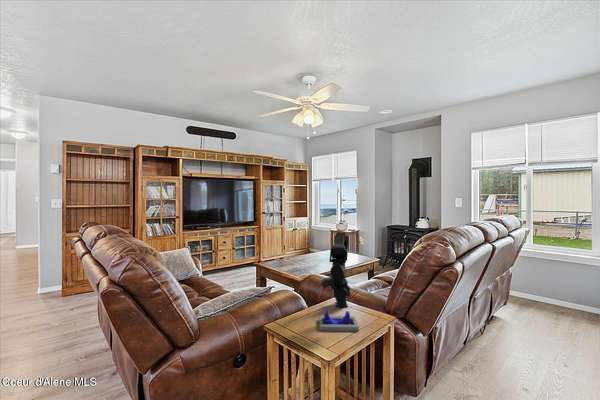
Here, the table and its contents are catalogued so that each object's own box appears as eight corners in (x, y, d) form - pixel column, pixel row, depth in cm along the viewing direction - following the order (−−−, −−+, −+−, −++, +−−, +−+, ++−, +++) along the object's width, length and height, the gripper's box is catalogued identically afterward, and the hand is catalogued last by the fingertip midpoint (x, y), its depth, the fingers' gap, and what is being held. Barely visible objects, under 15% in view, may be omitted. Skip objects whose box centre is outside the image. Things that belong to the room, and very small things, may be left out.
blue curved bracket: (325, 326, 141) (325, 314, 141) (324, 322, 146) (324, 310, 145) (350, 327, 141) (350, 315, 141) (348, 323, 145) (348, 311, 145)
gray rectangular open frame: (318, 319, 148) (318, 316, 148) (354, 320, 148) (354, 316, 148) (320, 330, 136) (320, 326, 136) (358, 331, 136) (358, 327, 136)
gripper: (320, 267, 151) (320, 297, 151) (322, 277, 133) (322, 312, 133) (342, 267, 151) (341, 297, 151) (347, 278, 132) (347, 312, 133)
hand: (338, 304), depth 142 cm, fingers open, 9 cm apart
